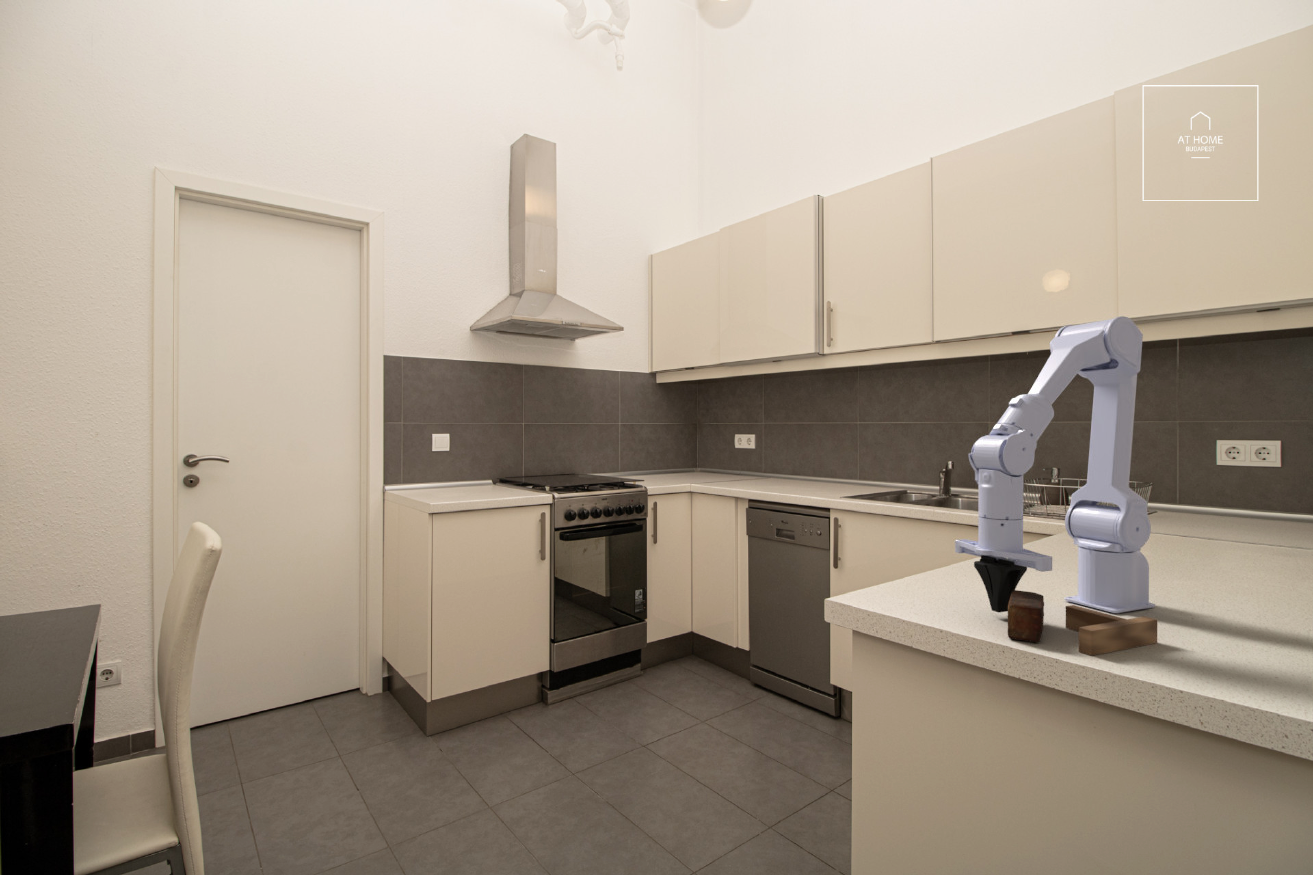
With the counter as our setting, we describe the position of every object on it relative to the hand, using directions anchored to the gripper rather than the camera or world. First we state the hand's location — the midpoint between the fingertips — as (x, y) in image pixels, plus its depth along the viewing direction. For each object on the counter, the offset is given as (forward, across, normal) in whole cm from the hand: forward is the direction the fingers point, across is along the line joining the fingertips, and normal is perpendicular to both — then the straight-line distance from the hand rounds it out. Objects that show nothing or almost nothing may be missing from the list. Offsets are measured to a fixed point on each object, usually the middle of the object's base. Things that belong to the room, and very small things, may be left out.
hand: (1000, 610), depth 91 cm
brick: (+1, +6, -2) cm, 6 cm away
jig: (+1, +11, +3) cm, 11 cm away
